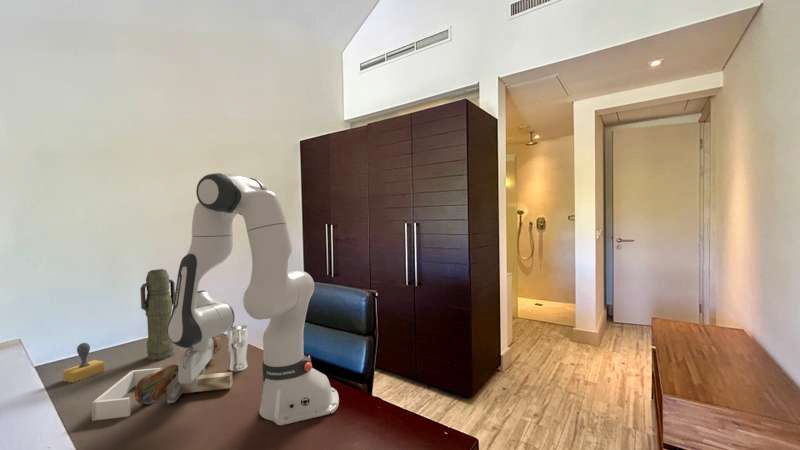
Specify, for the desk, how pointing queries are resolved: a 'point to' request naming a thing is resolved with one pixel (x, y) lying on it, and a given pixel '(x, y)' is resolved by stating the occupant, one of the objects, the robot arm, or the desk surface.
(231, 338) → the beer glass
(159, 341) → the thermos
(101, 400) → the box
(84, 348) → the rubber stamp
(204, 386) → the scraper
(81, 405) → the desk surface
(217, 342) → the lion figurine
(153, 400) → the tin
